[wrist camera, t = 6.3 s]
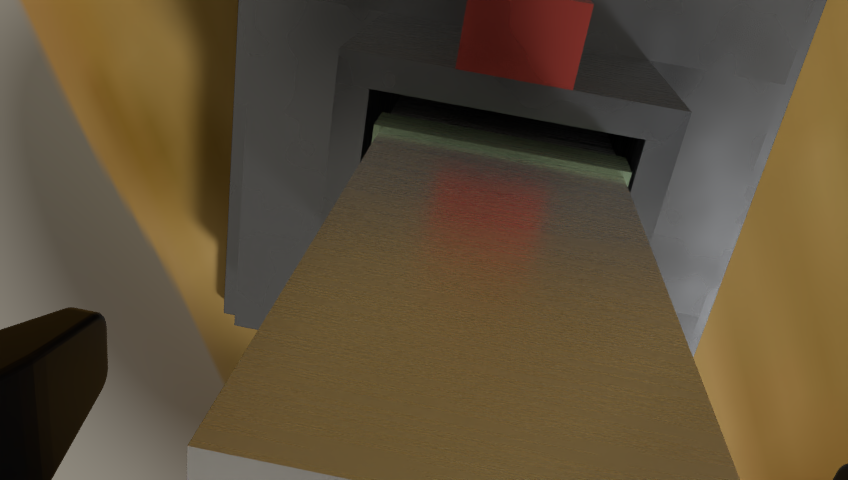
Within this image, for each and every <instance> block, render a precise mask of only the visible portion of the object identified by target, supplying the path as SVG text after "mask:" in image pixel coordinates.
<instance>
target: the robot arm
mask: <svg viewBox="0 0 848 480" xmlns="http://www.w3.org/2000/svg"><path fill="white" fill-rule="evenodd" d="M107 371H108V359H107V328H106V321H105V318H104V317H103V316H102V315H101V314H100V313H98V312H93V311H88V310H83V309H78V308H65V309H62V310H59V311H56V312H53V313H50V314H47V315H44V316H41V317H38V318H35V319H32V320H29V321H26V322H23V323H20V324H17V325H14V326H10V327H8V328H4V329H1V330H0V480H51V479H52V478H53V476H54V474H55V472H56V471H57V469H58V467H59V465H60V464H61V462H62V460H63V458H64V456H65V455H66V453H67V451H68V449H69V447H70V446H71V444H72V442H73V440H74V439H75V437H76V435H77V433H78V431H79V430H80V428H81V426H82V424H83V422H84V421H85V419H86V417H87V415H88V414H89V412H90V410H91V408H92V406H93V405H94V403H95V401H96V399H97V397H98V396H99V394H100V392H101V390H102V388H103V386H104V384H105V381H106V377H107ZM833 480H848V464H845V465H843V466H842V467H841V468H839V470H838V471H837V473H836V475H835V477H834V479H833Z"/></svg>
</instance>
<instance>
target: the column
mask: <svg viewBox="0 0 848 480" xmlns="http://www.w3.org/2000/svg"><path fill="white" fill-rule="evenodd" d="M631 174H632V172H631V170H630V167H629V165H628V162H627V160H626V158H625V157H621V156H616V155H615V153H614V150H613V148H612V145H611V142H610V140H609V137H608V135H607V133H606V132H601V131H595V130H590V129H584V128H579V127H574V126H568V125H563V124H557V123H552V122H546V121H541V120H536V119H530V118H525V117H519V116H514V115H509V114H503V113H498V112H492V111H487V110H482V109H476V108H471V107H465V106H460V105H454V104H449V103H444V102H438V101H433V100H427V99H422V98H417V97H411V96H406V95H401V97H400V98H399V100H398V102H397V103H396V105H395V106H394V108H393V110H392V111H391V113H385V112H382V113H381V114H380V116H379V117H378V119H377V121H376V122H375V124H374V127H373V135H372V142H371V146H370V147H369V149H368V151H367V152H366V154H365V156H364V157H363V159H362V161H361V162H360V164H359V165H358V167H357V169H356V170H355V172H354V174H353V175H352V177H351V179H350V180H349V182H348V183H347V185H346V187H345V188H344V190H343V192H342V193H341V195H340V197H339V198H338V200H337V202H336V203H335V205H334V206H333V208H332V210H331V211H330V213H329V215H328V216H327V218H326V220H325V221H324V223H323V224H322V226H321V228H320V229H319V231H318V233H317V234H316V236H315V238H314V239H313V241H312V242H311V244H310V246H309V247H308V249H307V251H306V252H305V254H304V256H303V257H302V259H301V261H300V262H299V264H298V265H297V267H296V269H295V270H294V272H293V274H292V275H291V277H290V279H289V280H288V282H287V283H286V285H285V287H284V288H283V290H282V292H281V293H280V295H279V297H278V298H277V300H276V301H275V303H274V305H273V306H272V308H271V310H270V311H269V313H268V315H267V316H266V318H265V320H264V321H263V323H262V324H261V326H260V328H259V329H258V331H257V333H256V334H255V336H254V338H253V339H252V341H251V342H250V344H249V346H248V347H247V349H246V351H245V352H244V354H243V356H242V357H241V359H240V361H239V362H238V364H237V365H236V367H235V369H234V370H233V372H232V374H231V375H230V377H229V379H228V380H227V382H226V383H225V385H224V387H223V389H222V390H221V392H220V393H219V395H218V397H217V398H216V400H215V401H214V403H213V405H212V406H211V408H210V410H209V411H208V413H207V415H206V416H205V418H204V420H203V421H202V423H201V424H200V426H199V428H198V429H197V431H196V433H195V434H194V436H193V438H192V439H191V441H190V442H189V444H188V446H187V480H740V479H739V476H738V473H737V471H736V468H735V466H734V463H733V460H732V458H731V455H730V453H729V450H728V447H727V445H726V442H725V439H724V437H723V434H722V432H721V429H720V426H719V424H718V421H717V419H716V416H715V413H714V411H713V408H712V406H711V403H710V400H709V398H708V395H707V393H706V390H705V387H704V385H703V382H702V380H701V377H700V374H699V372H698V369H697V367H696V364H695V361H694V359H693V356H692V354H691V351H690V348H689V346H688V343H687V340H686V338H685V335H684V333H683V330H682V327H681V325H680V322H679V320H678V317H677V314H676V312H675V309H674V307H673V304H672V301H671V299H670V296H669V294H668V291H667V288H666V286H665V283H664V281H663V278H662V275H661V273H660V270H659V268H658V265H657V262H656V260H655V257H654V255H653V252H652V249H651V247H650V244H649V241H648V239H647V236H646V234H645V231H644V228H643V226H642V223H641V221H640V218H639V215H638V213H637V210H636V208H635V205H634V202H633V200H632V197H631V195H630V192H629V189H628V184H629V181H630V177H631Z"/></svg>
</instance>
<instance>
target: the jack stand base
mask: <svg viewBox="0 0 848 480" xmlns="http://www.w3.org/2000/svg"><path fill="white" fill-rule="evenodd" d="M826 1H827V0H239V4H238V25H237V46H236V67H235V88H234V109H233V131H232V152H231V173H230V194H229V215H228V236H227V257H226V278H225V299H224V313H227V314H232V315H235V324H234V325H236V326H241V327H246V328H251V329H256V330H258V329H259V328H260V326H261V324H262V323H263V321H264V320H265V318H266V316H267V315H268V313H269V311H270V310H271V308H272V306H273V305H274V303H275V301H276V300H277V298H278V297H279V295H280V293H281V292H282V290H283V288H284V287H285V285H286V283H287V282H288V280H289V279H290V277H291V275H292V274H293V272H294V270H295V269H296V267H297V265H298V264H299V262H300V261H301V259H302V257H303V256H304V254H305V252H306V251H307V249H308V247H309V246H310V244H311V242H312V241H313V239H314V238H315V236H316V234H317V233H318V231H319V229H320V228H321V226H322V224H323V223H324V221H325V220H326V218H327V216H328V215H329V213H330V211H331V210H332V208H333V206H334V205H335V203H336V202H337V200H338V198H339V197H340V195H341V193H342V192H343V190H344V188H345V187H346V185H347V183H348V182H349V180H350V179H351V177H352V175H353V174H354V172H355V170H356V169H357V167H358V165H359V164H360V162H361V161H362V159H363V157H364V156H365V154H366V152H367V151H368V149H369V147H370V146H371V142H372V135H373V127H374V124H375V122H376V121H377V119H378V117H379V116H380V114H381V113H382V112H385V113H391V111H392V110H393V108H394V106H395V105H396V103H397V102H398V100H399V98H400V97H401V95H406V96H411V97H417V98H422V99H427V100H433V101H438V102H444V103H449V104H454V105H460V106H465V107H471V108H476V109H482V110H487V111H492V112H498V113H503V114H509V115H514V116H519V117H525V118H530V119H536V120H541V121H546V122H552V123H557V124H563V125H568V126H574V127H579V128H584V129H590V130H595V131H601V132H606V133H607V135H608V137H609V140H610V142H611V145H612V148H613V150H614V153H615V155H616V156H621V157H625V158H626V160H627V162H628V165H629V167H630V170H631V172H632V174H631V177H630V181H629V184H628V189H629V192H630V195H631V197H632V200H633V202H634V205H635V208H636V210H637V213H638V215H639V218H640V221H641V223H642V226H643V228H644V231H645V234H646V236H647V239H648V241H649V244H650V247H651V249H652V252H653V255H654V257H655V260H656V262H657V265H658V268H659V270H660V273H661V275H662V278H663V281H664V283H665V286H666V288H667V291H668V294H669V296H670V299H671V301H672V304H673V307H674V309H675V312H676V314H677V317H678V320H679V322H680V325H681V327H682V330H683V333H684V335H685V338H686V340H687V343H688V346H689V348H690V351H691V354H692V356H693V357H694V354H695V351H696V349H697V346H698V343H699V341H700V338H701V335H702V333H703V330H704V327H705V325H706V322H707V319H708V317H709V314H710V311H711V309H712V306H713V303H714V301H715V298H716V295H717V293H718V290H719V287H720V285H721V282H722V279H723V276H724V274H725V271H726V268H727V266H728V263H729V260H730V258H731V255H732V252H733V250H734V247H735V244H736V242H737V239H738V236H739V234H740V231H741V228H742V226H743V223H744V220H745V218H746V215H747V212H748V210H749V207H750V204H751V202H752V199H753V196H754V194H755V191H756V188H757V186H758V183H759V180H760V178H761V175H762V172H763V170H764V167H765V164H766V162H767V159H768V156H769V154H770V151H771V148H772V145H773V143H774V140H775V137H776V135H777V132H778V129H779V127H780V124H781V121H782V119H783V116H784V113H785V111H786V108H787V105H788V103H789V100H790V97H791V95H792V92H793V89H794V87H795V84H796V81H797V79H798V76H799V73H800V71H801V68H802V65H803V63H804V60H805V57H806V55H807V52H808V49H809V47H810V44H811V41H812V39H813V36H814V33H815V31H816V28H817V25H818V23H819V20H820V17H821V15H822V12H823V9H824V6H825V4H826Z"/></svg>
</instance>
